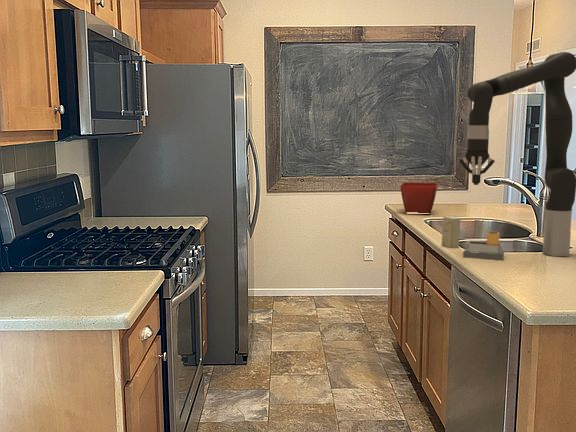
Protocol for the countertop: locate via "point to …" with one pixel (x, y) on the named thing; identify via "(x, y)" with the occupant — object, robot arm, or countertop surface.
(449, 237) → the skincare box
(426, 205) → the plant pot
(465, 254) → the grey tray
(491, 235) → the toggle
